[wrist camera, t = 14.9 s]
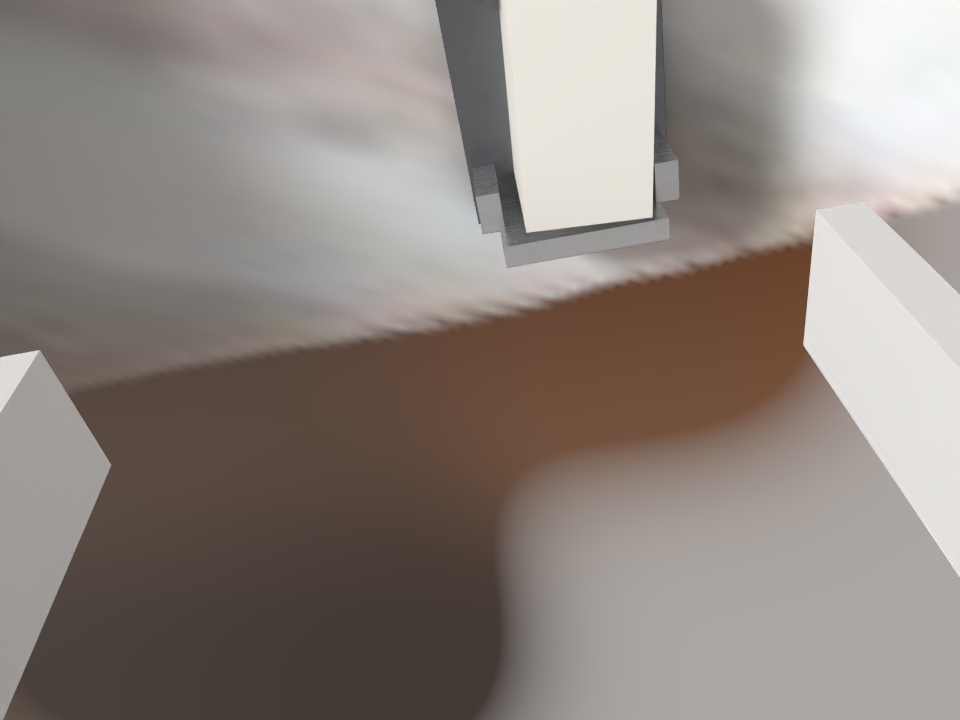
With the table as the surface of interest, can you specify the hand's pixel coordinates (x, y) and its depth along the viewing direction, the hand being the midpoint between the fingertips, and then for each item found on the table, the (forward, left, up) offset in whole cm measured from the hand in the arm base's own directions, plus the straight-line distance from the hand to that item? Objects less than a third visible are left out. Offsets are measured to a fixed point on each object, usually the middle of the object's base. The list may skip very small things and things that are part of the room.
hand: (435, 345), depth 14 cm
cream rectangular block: (0, -6, -23) cm, 24 cm away
